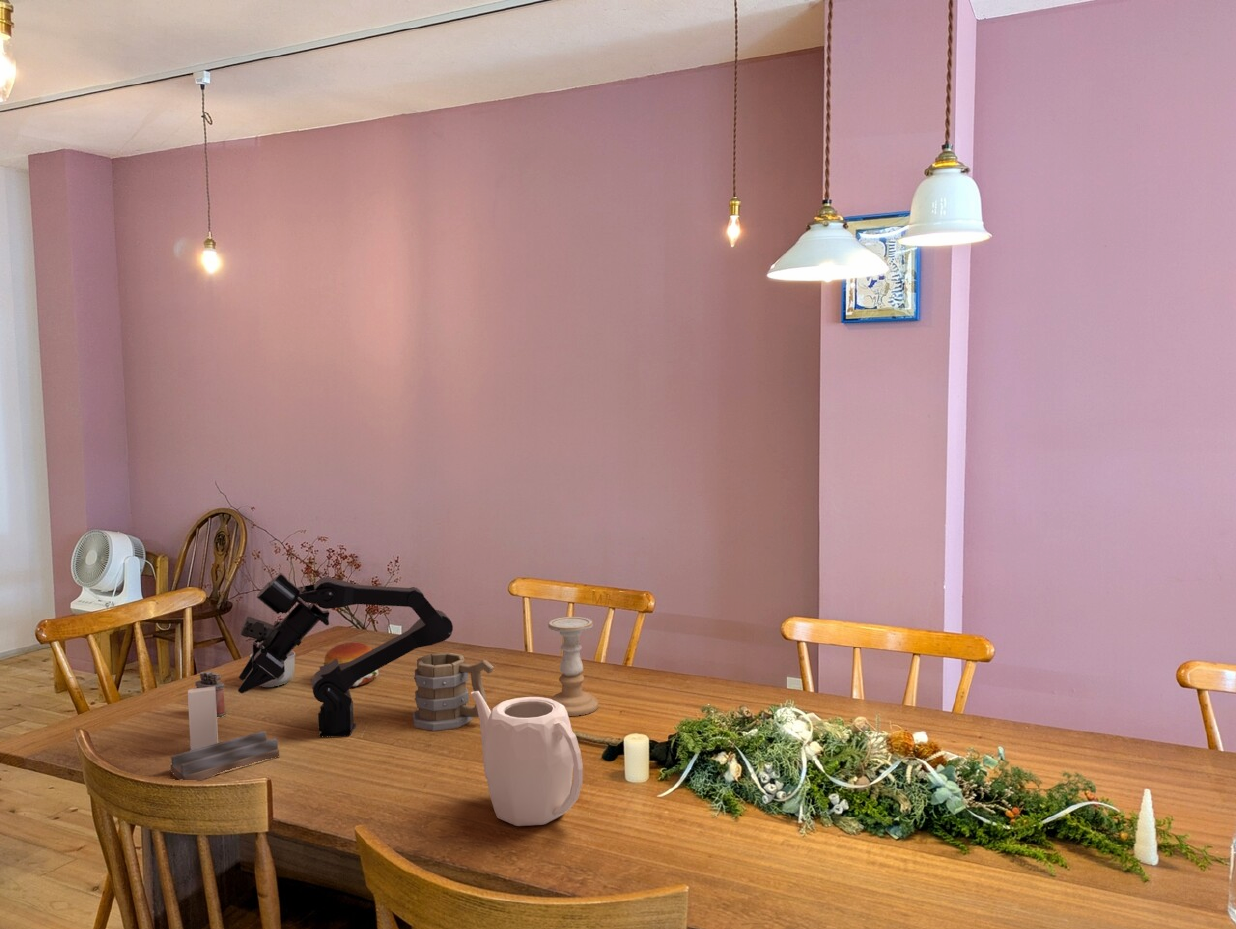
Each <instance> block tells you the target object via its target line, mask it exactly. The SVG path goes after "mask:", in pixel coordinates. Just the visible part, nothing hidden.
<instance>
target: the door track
mask: <svg viewBox="0 0 1236 929" xmlns="http://www.w3.org/2000/svg"><path fill="white" fill-rule="evenodd" d="M278 756H279V757H280V750H279V748H278V739H277V738H276V737H274V738H270V739H267V732H266V731H265V730H261V731H258V732H255V733H251V734H246V735H244V736H240V737H239V736H238V737H235V738H231V739H229V740H224V741H221V742H218V743H217V744H213V745H209V746H206V747H202V748H198V749H194V750H191V749H190V750H188V751H185V752H180V753H177V754H172V755H170V757H171V760H170V761H171V762H170V763H171V764H170V772H171V771H172V773H174V775H175V776H174V777H175V778H177V779H178V780H179V779H183V780H200V781H202V780H206V779H205V778H207V779H210V778H212V777H211V776H213V775H215V774H217V773H220V772H223V771H225V770H230V769H232V768H236V767H240V766H245V765H249V764H252V763H254V762H258V761H262V760H265V759H271V758H275V757H278ZM279 757H278V758H279ZM275 759H276V758H275ZM172 773H171V774H172ZM209 777H210V778H209Z"/></svg>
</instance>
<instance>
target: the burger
mask: <svg viewBox="0 0 1236 929" xmlns="http://www.w3.org/2000/svg"><path fill="white" fill-rule="evenodd" d="M373 649H374V648H372V646H369V645H367V644H365V643H362V642H355V641H354V642H345V643H341V644H338V645H336V646H334V647H332V648H330V649H329V651H327V652H326V654H325V656H324V660H323V661H324V662H323V666H325V665H328V664H329V663H330V662H332V661H333V660H335V659H338V662H339V664H341V663H347V662H350V661H352V660H354V659H356V658H358V657H359V656H361V655H363V654H365V653H367V652H369V651H371V650H373ZM377 676H379V669H377V670H375V671H374V672H372V673H370V674H368V675H366V676H364V677H363V678H361V679H359V680H358V681H356V682H355V683H354V684H353V685H352V686H351V688H353V687H357V686H362V685H365V684H368V683H370V682H371V681H373V680H374V678H375V677H377Z"/></svg>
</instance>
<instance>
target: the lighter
mask: <svg viewBox="0 0 1236 929" xmlns="http://www.w3.org/2000/svg"><path fill="white" fill-rule="evenodd" d="M199 678H200V680H197V681H195V686H196V689H197V688H205V687H214V686H215V688H216V709H217V717H222V716H224V715H225V714H226V715H227V713H226V711H225V710H226V709H225V708H226V707H225V691H224V690H225V689H224V688H225V683H224V682H222V681H221V680H222V677H221V674H219V673H216V672H213V670H209V671H201V672H200V673H199Z"/></svg>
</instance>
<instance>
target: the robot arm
mask: <svg viewBox="0 0 1236 929" xmlns="http://www.w3.org/2000/svg"><path fill="white" fill-rule="evenodd" d="M256 598H257V599H258V600H259V601H260V602H261V603H263V604H264V605H265V606H267V607H268V608H269V609H270V610H272V611H273V612H274V613H275V614H277V615H279V614H286V616H285V617H284V618H283V619H282V620H277V621H276V622H275V623H273V624H272V623H269V622H266V621H264V620H260V619H257V618H254V617H252V616H246V618H245V619H244V620H245V621H244V623H243V625H242V626H241V629H240V635H241V636H242V637H244V638H251V639H254V640H253V642H252V653H251V654H252V656H251V658H250V657H249V660H248V661H247V662H246V665H245V666H244V668H243V669H242V671H241V672H240V674H239V676H238V679H239V680H241V681H242V682H241V685H240V686H238V687H239V688H238V689H237V692H238V693H239V694H244V693H246V692H248V691H250V690H252V689H255V688H257V687H258V686H259V685H262V684H264V683H266V682H268V681H271V680H275V679H276V678H279V677H280V676H281V675H282V674H283V673H284V672H285V666H284V661H285V660H286V659H287V658H288V656H287V655H288V654H289V653H290V652H291V651H293V650H294V648H295V647H296V646H298V647H299V646H300V645H301V644H302V641H303V639H304V638H305V637H306V636H307V635H308V633H309V632H310V631H311V630H312V629H313V628H314V627H315V626H316V625H317V624H318V623H319V622H322V623H323V624H324V625H325V626H329V625H330V621H329V616H330V611H329V609H338V608H344V607H349V606H353V605H363V606H364V605H368V606H369V605H370V606H386V607H403V608H404V607H405V608H406V607H407V608H411V609H412V610H413V611H414V612H415V614H416V615H417V616H418V617H419V619H417V621H416V622H414V624H412V626H411V627H410V628H408V629H407V630H406V631H404V632H402V633H401V634H399V635H397V636H396V637H393V638H391V639H389V640H388V641H385V642H384V643H382V644H380V645H378V646H377V647H374V648H372V649H373V650H371V651H369V652H367V653H365V654H363V655H361V656H359V657H358V658H356V659H354V660H352V661H350V662H347V663H341V664H339V662H338V659H335V660H333V661H332V662H330V663H329V664H328V665H325V664H324V665H325V666H324V665H321V666H319V670H317V671H316V672H315V673H314V674H313V676H312V679H311V688H312V694H313V697H314V698H315V699H316V700H317V701H318V702H319V703H322V704H321V705H320V706H319V707H320V710H319V712H318V714H317V720H318V722H317V723H318V725H317V726H318V732H319V734H318V737H319V736H320V737H319V738H332V737H331V736H341V737H349V735H350V734H352V733H353V731H354V730H355V728H356V727H357V724H356V723H355V719H354V701H353V699H352V694H351V691H350V690H351V688H352V687H351V686H352V685H353V684H354V683H355V682H356V681H358V680H359V679H361V678H363V677H364V676H366V675H368V674H370V673H372V672H374V671H375V670H377V669H378V670H379V669H381V668H383V667H384V666H387V665H388V664H390V663H393V662H394V661H396V660H398V659H399V658H401V657H404V656H405V655H407V654H408V653H410V652H412V651H414V650H416V649H419V648H424V647H428V646H433V645H437V644H439V643H442V642H444V641H446V640H448V639H449V638H450V637H451V635H452V633H453V630H454V625H453V623H452V621H451V619H450V618H449V617H448V616H447V614H446V613H445V612H444V611H442V610H438V609H436V608H434V607H433V606H432V604H431V603H430V602H429V601H428V600H427V598H426V597H425V595H424V594H423V591H421V590H420V589H419V588H418V587H414V586H412V587H411V586H410V587H398V586H380V585H367V584H356V583H352V582H349V581H347V580H346V581H345V580H342V579H338V578H333V577H330V576H329V577H327V576H325V577H322V578H320V579H318V580H317V581H316V582H315V583H312V584H307V585H303V586H298V587H297V586H296V585H295V584H294V583H293V582H291V581H290V580H289V579H288V578H287V576H285V575H284V574H283V573H281V572H280V573H279V574H278V575H277V576H275V577H274V578H273V579H271V581H268V582H267V583H266V584H265V585H264V586H263V587H262V589H261V590H260V591H259V592H258V593H257V596H256ZM322 609H325V610H322ZM289 611H290V612H289ZM288 612H289V613H288ZM287 613H288V614H287ZM259 687H260V686H259ZM322 736H323V737H322ZM327 736H328V737H327ZM329 736H330V737H329ZM350 736H351V735H350Z"/></svg>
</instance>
